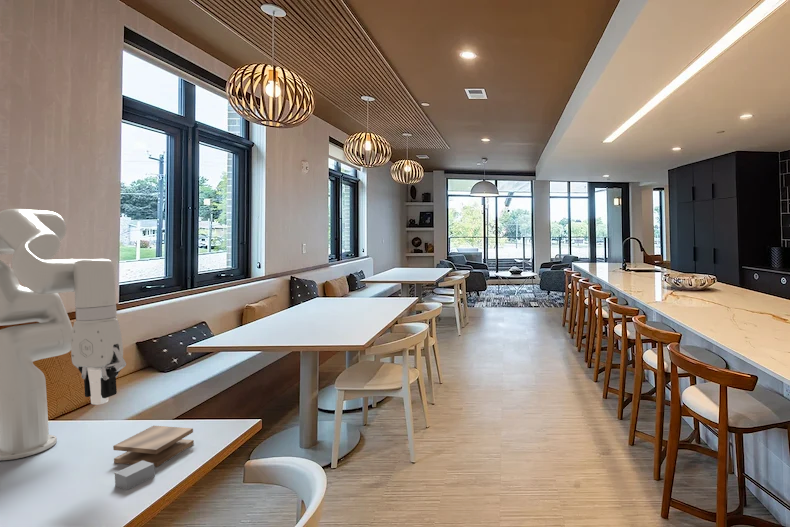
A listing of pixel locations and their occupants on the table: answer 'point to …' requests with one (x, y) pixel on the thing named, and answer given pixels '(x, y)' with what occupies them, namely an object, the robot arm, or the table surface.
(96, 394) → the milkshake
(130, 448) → the stand
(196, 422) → the table surface
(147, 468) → the block
